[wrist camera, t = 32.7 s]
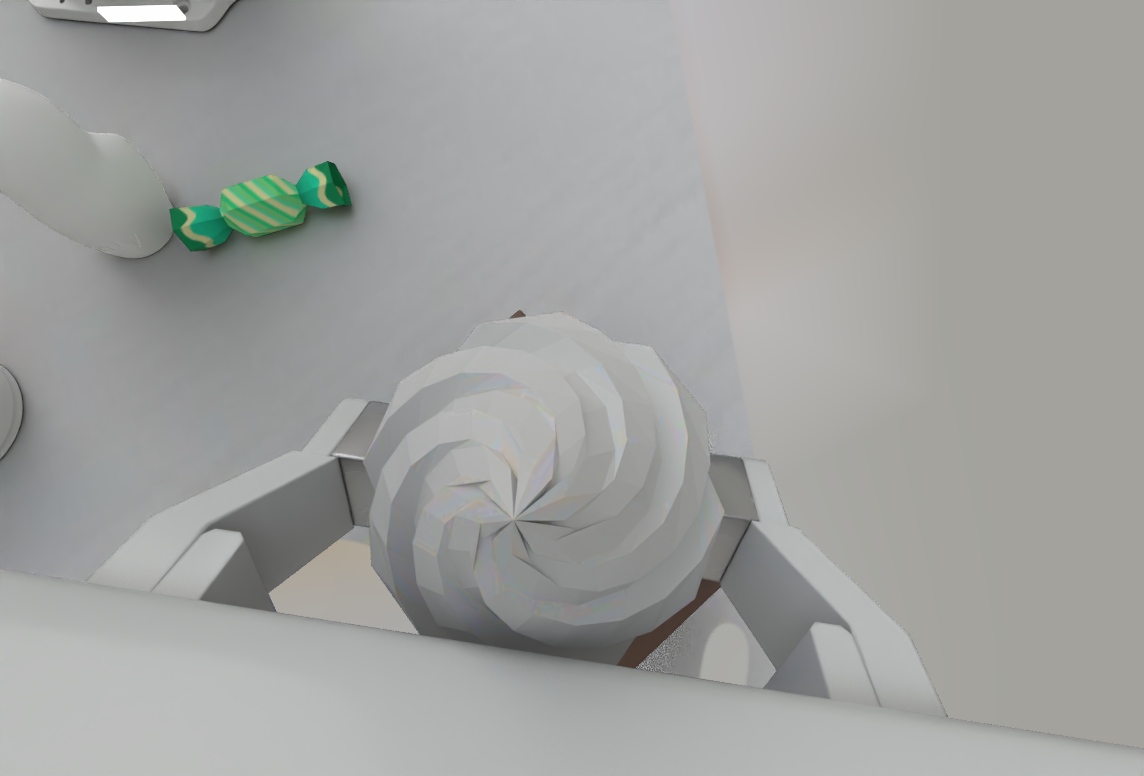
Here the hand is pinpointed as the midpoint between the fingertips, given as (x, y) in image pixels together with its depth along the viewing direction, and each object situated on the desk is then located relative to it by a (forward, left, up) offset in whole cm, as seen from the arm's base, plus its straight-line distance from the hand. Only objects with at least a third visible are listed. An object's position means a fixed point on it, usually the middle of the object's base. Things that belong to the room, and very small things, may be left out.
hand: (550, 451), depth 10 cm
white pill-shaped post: (-32, +23, -27) cm, 48 cm away
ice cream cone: (0, -1, -8) cm, 8 cm away
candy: (-21, +22, -27) cm, 41 cm away
